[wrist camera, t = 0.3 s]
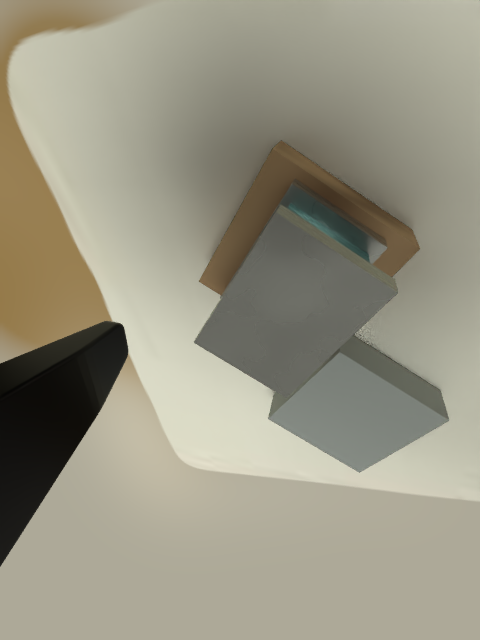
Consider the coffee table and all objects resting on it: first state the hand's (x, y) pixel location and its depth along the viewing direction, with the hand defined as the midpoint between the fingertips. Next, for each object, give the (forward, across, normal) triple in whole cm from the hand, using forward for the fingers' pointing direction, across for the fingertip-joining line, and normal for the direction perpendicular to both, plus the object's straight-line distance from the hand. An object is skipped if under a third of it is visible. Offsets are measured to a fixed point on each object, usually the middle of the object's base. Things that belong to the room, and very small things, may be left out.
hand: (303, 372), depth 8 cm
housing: (+10, +1, +2) cm, 11 cm away
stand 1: (+13, +1, +2) cm, 13 cm away
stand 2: (+13, -4, +13) cm, 19 cm away
